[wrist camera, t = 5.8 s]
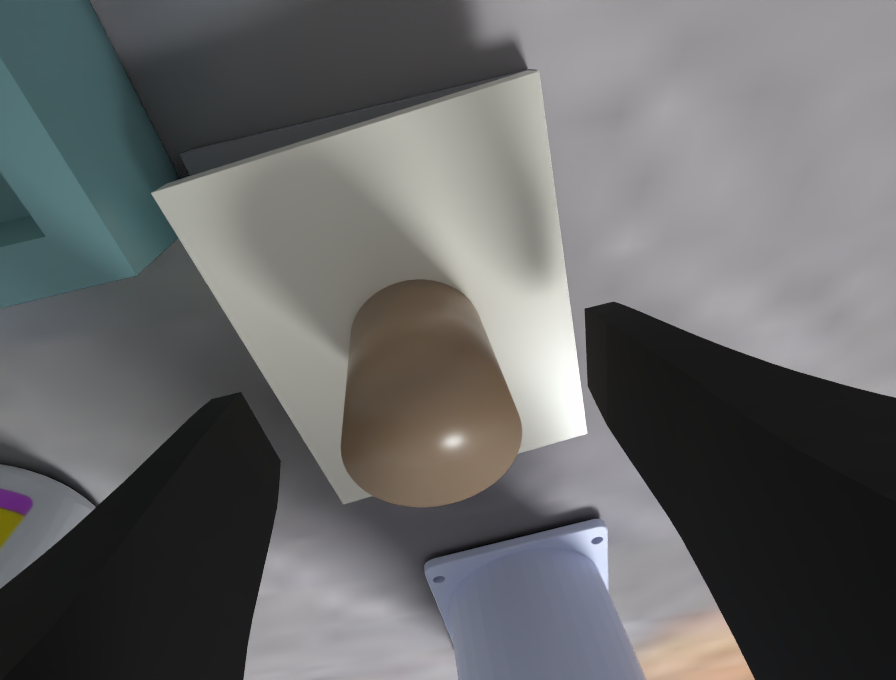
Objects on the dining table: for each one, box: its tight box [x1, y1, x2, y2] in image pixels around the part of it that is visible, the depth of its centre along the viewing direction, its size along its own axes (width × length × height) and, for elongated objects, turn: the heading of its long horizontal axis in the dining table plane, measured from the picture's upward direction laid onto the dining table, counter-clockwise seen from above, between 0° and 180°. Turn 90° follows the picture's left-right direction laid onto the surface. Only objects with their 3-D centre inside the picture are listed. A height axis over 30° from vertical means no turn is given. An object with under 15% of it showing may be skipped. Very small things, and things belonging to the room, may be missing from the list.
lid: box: [151, 70, 587, 507], centre depth 10 cm, size 10×8×5 cm
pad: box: [180, 69, 537, 176], centre depth 13 cm, size 10×8×1 cm
